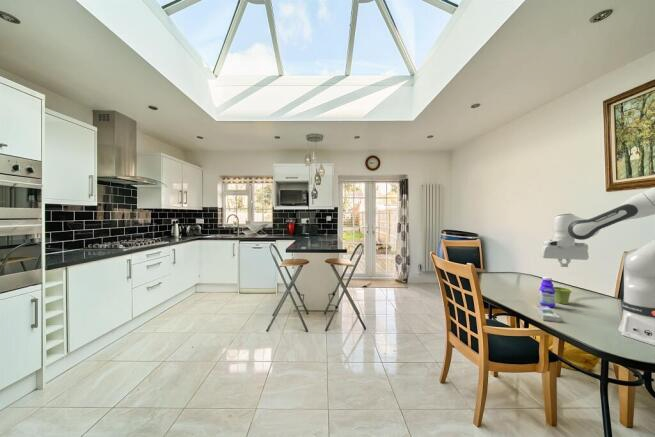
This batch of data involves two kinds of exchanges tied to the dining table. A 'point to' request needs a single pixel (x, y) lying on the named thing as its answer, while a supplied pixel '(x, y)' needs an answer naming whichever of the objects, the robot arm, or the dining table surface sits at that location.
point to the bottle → (547, 292)
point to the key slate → (545, 309)
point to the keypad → (546, 317)
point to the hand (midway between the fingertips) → (564, 266)
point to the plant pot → (562, 295)
